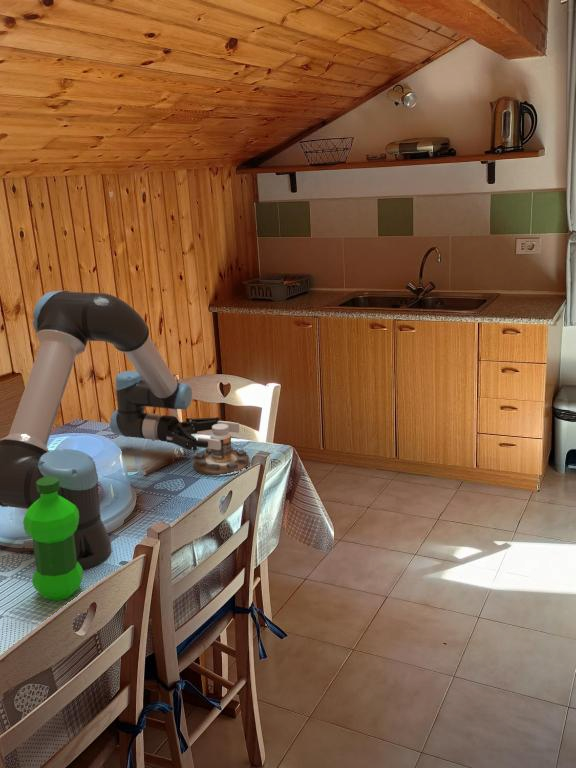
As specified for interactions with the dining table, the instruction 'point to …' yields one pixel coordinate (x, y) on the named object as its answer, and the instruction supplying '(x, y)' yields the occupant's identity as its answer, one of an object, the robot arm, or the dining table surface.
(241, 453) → the sprocket plate
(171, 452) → the dining table surface
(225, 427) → the pill bottle
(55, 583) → the plastic bottle
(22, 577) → the dining table surface
